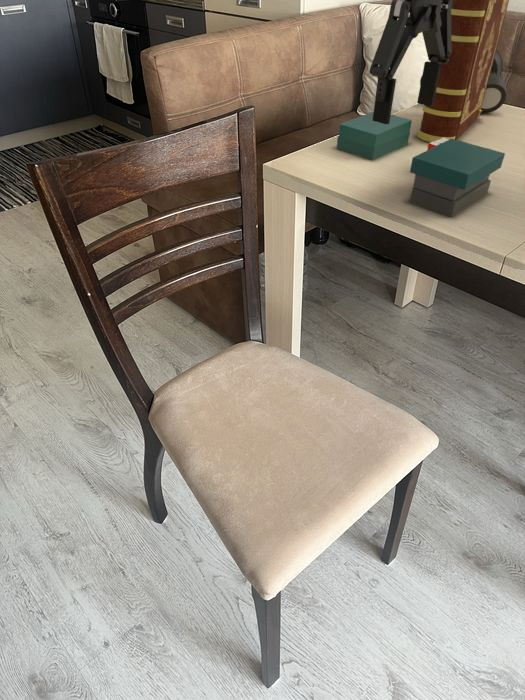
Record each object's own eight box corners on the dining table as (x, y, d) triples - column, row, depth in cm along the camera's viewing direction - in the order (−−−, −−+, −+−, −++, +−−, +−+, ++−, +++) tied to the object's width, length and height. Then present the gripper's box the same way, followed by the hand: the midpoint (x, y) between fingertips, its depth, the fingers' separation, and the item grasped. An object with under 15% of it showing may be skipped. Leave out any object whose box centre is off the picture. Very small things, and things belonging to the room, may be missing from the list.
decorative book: (450, 146, 116) (490, -25, 97) (414, 139, 119) (445, -29, 100) (479, 118, 131) (519, -36, 111) (446, 112, 134) (479, -38, 114)
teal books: (408, 144, 117) (412, 119, 113) (372, 160, 109) (376, 134, 106) (372, 133, 121) (375, 110, 118) (336, 148, 114) (338, 123, 111)
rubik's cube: (422, 168, 106) (428, 143, 103) (438, 162, 109) (443, 137, 106) (444, 177, 103) (450, 150, 100) (460, 170, 106) (466, 144, 103)
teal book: (500, 167, 94) (505, 153, 93) (464, 190, 87) (468, 174, 85) (448, 152, 99) (451, 138, 98) (409, 172, 92) (412, 157, 90)
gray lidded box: (487, 193, 98) (495, 166, 95) (451, 217, 91) (458, 188, 87) (446, 180, 102) (452, 153, 99) (408, 202, 95) (414, 173, 92)
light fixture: (411, 106, 140) (420, 55, 132) (435, 87, 150) (445, 38, 142) (495, 124, 131) (510, 70, 123) (514, 102, 142) (530, 51, 133)
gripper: (450, -50, 87) (423, 93, 101) (357, -41, 73) (340, 124, 86) (495, -47, 83) (460, 102, 97) (406, -36, 69) (380, 136, 83)
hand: (403, 113), depth 92 cm, fingers open, 13 cm apart
